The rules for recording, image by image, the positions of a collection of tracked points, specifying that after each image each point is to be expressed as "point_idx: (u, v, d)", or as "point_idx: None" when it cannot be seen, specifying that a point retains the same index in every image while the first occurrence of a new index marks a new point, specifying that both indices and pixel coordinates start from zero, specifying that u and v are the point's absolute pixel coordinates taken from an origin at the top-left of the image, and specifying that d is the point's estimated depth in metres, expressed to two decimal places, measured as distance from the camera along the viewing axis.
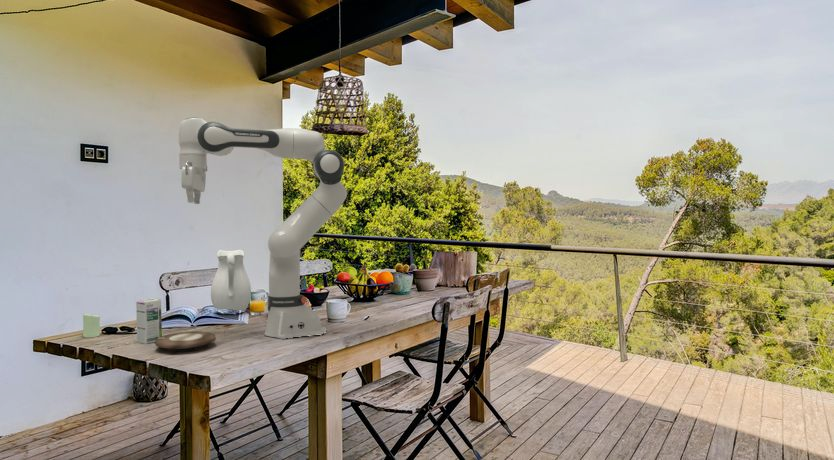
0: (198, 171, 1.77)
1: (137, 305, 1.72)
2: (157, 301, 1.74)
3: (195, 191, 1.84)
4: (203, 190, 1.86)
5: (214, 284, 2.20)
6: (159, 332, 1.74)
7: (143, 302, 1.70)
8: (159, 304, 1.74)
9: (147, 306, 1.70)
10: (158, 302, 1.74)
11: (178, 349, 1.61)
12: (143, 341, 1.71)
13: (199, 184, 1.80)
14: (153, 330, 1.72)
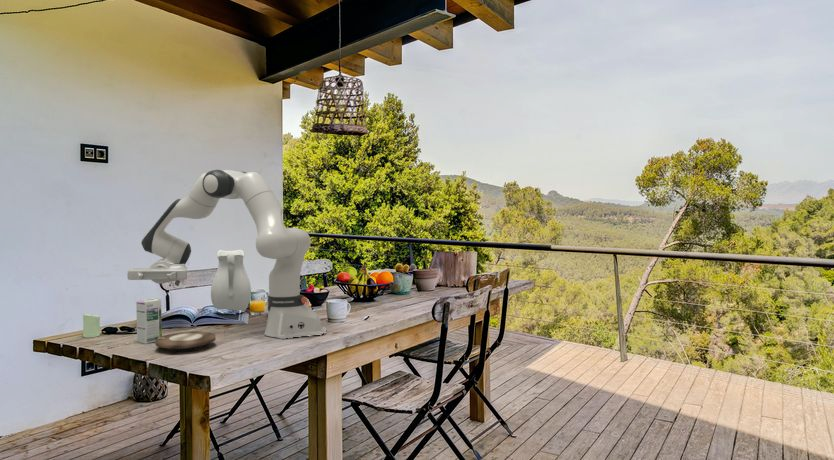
0: (153, 267, 1.94)
1: (137, 305, 1.72)
2: (157, 301, 1.74)
3: None
4: (179, 270, 1.92)
5: (214, 284, 2.20)
6: (159, 332, 1.74)
7: (143, 302, 1.70)
8: (159, 304, 1.74)
9: (147, 306, 1.70)
10: (158, 302, 1.74)
11: (178, 349, 1.61)
12: (143, 341, 1.71)
13: (160, 269, 1.91)
14: (153, 330, 1.72)
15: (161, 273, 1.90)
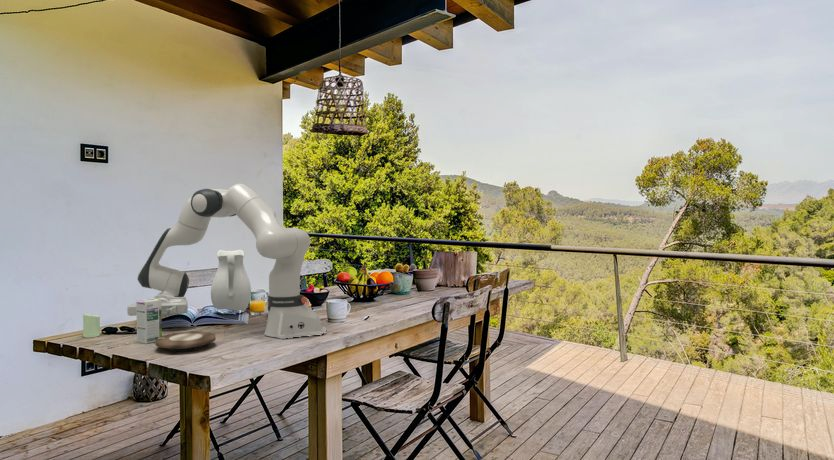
0: None
1: (137, 305, 1.72)
2: (157, 301, 1.74)
3: None
4: (180, 303, 1.90)
5: (214, 284, 2.20)
6: (159, 332, 1.74)
7: (143, 302, 1.71)
8: (159, 304, 1.74)
9: (147, 306, 1.70)
10: (158, 302, 1.74)
11: (178, 349, 1.61)
12: (143, 341, 1.71)
13: None
14: (153, 330, 1.72)
15: (161, 308, 1.88)
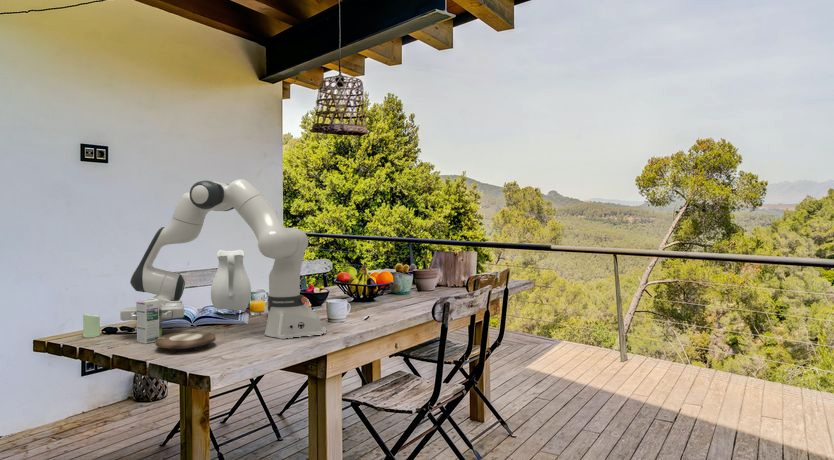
0: None
1: (137, 305, 1.72)
2: (157, 301, 1.74)
3: None
4: (175, 308, 1.81)
5: (214, 284, 2.20)
6: (159, 332, 1.74)
7: (143, 302, 1.70)
8: (159, 304, 1.74)
9: (147, 306, 1.70)
10: (158, 302, 1.74)
11: (178, 349, 1.61)
12: (143, 341, 1.71)
13: None
14: (153, 330, 1.72)
15: None
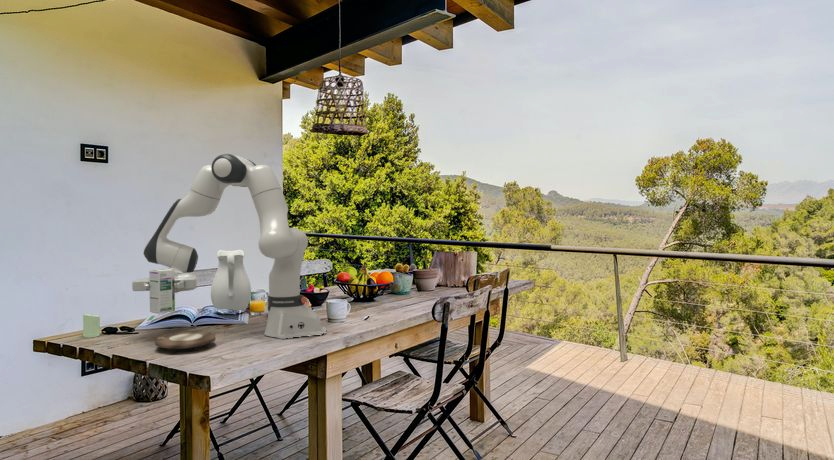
0: None
1: (150, 275, 1.70)
2: (171, 271, 1.71)
3: None
4: (188, 278, 1.77)
5: (214, 284, 2.20)
6: (172, 302, 1.71)
7: (156, 271, 1.68)
8: (172, 274, 1.71)
9: (160, 275, 1.68)
10: (172, 272, 1.71)
11: (178, 349, 1.61)
12: (156, 311, 1.68)
13: None
14: (167, 300, 1.70)
15: None
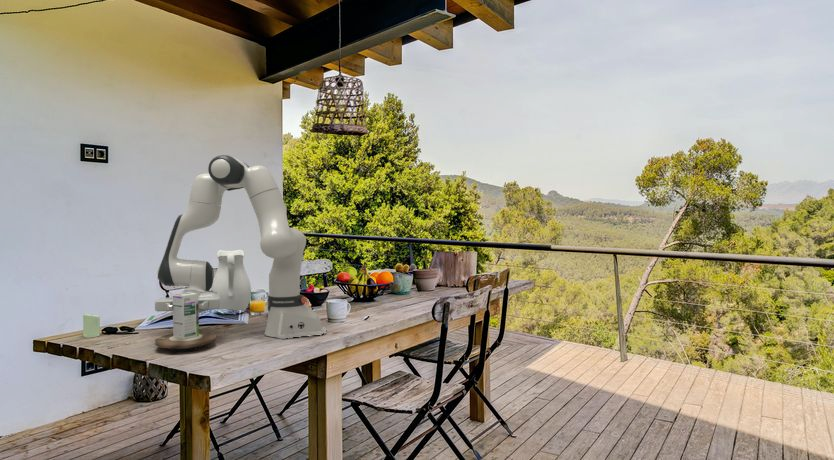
0: None
1: (173, 299, 1.65)
2: (195, 295, 1.66)
3: None
4: (212, 298, 1.72)
5: (214, 284, 2.20)
6: (196, 327, 1.66)
7: (180, 296, 1.63)
8: (196, 298, 1.66)
9: (184, 300, 1.63)
10: (195, 296, 1.66)
11: (178, 349, 1.61)
12: (180, 337, 1.63)
13: None
14: (191, 325, 1.65)
15: None
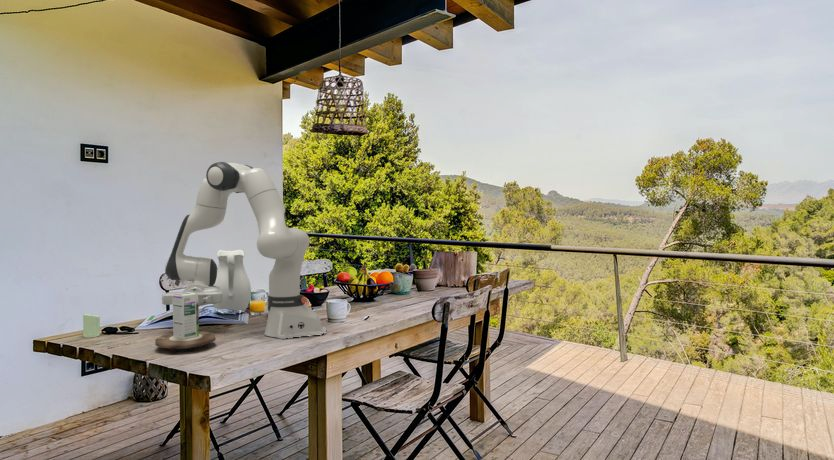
0: (187, 290, 1.87)
1: (174, 299, 1.65)
2: (195, 295, 1.66)
3: None
4: (215, 293, 1.85)
5: (214, 284, 2.20)
6: (196, 327, 1.66)
7: (180, 296, 1.63)
8: (196, 298, 1.66)
9: (184, 300, 1.63)
10: (196, 296, 1.66)
11: (178, 349, 1.61)
12: (180, 337, 1.63)
13: None
14: (191, 325, 1.65)
15: None
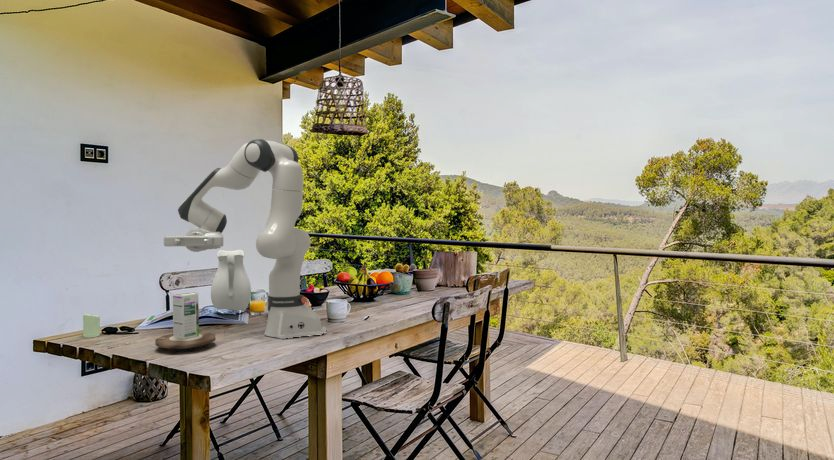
0: (189, 234, 1.90)
1: (174, 299, 1.65)
2: (195, 295, 1.66)
3: None
4: (216, 236, 1.87)
5: (214, 284, 2.20)
6: (196, 327, 1.66)
7: (180, 296, 1.63)
8: (196, 298, 1.66)
9: (184, 300, 1.63)
10: (196, 296, 1.66)
11: (178, 349, 1.61)
12: (180, 337, 1.63)
13: None
14: (191, 325, 1.65)
15: (197, 239, 1.86)
